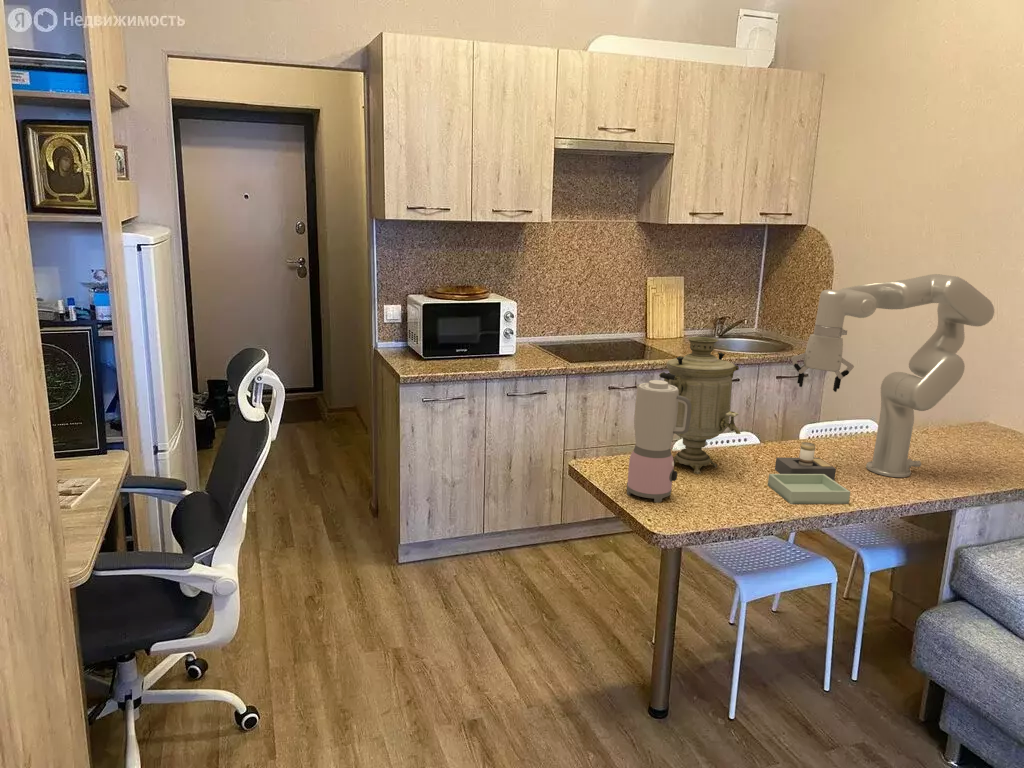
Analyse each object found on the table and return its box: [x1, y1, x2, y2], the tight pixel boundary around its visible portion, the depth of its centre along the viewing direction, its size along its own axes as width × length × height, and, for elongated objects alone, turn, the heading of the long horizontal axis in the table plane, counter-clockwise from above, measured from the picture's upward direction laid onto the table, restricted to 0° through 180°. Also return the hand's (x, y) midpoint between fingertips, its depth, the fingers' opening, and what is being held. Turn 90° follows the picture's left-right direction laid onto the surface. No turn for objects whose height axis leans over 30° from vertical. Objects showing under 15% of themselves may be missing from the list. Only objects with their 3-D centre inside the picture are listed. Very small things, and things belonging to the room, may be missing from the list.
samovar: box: [658, 336, 741, 475], centre depth 222 cm, size 30×26×40 cm
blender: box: [626, 379, 691, 503], centre depth 200 cm, size 16×12×32 cm
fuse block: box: [774, 456, 837, 481], centre depth 224 cm, size 14×10×4 cm
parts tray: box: [767, 473, 851, 505], centre depth 209 cm, size 17×14×4 cm
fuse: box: [798, 441, 816, 466], centre depth 223 cm, size 4×4×10 cm
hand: (817, 388), depth 220 cm, fingers open, 9 cm apart
